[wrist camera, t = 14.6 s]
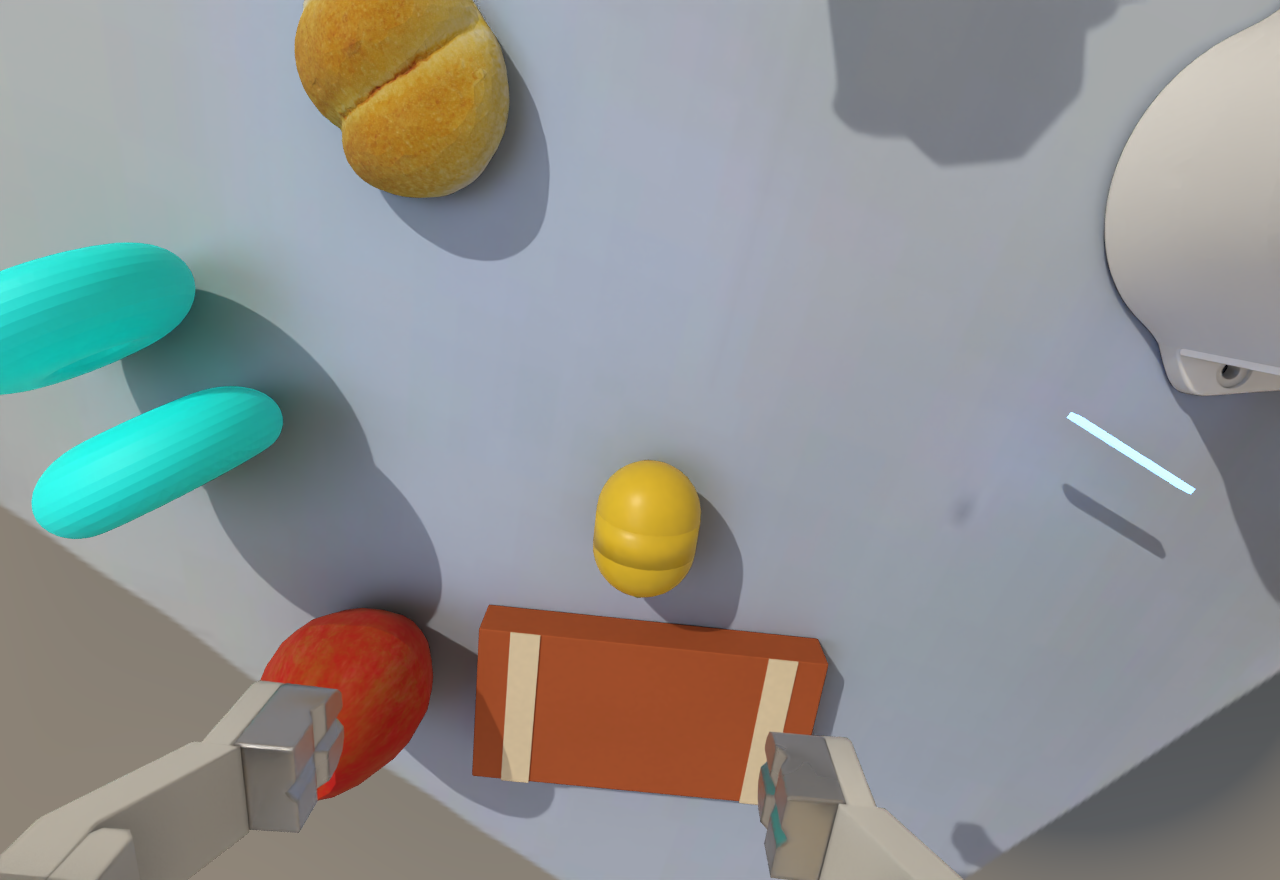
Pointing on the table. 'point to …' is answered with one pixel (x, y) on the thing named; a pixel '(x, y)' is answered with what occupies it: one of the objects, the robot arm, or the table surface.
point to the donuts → (97, 336)
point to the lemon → (646, 528)
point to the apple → (362, 683)
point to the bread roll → (406, 89)
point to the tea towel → (637, 702)
